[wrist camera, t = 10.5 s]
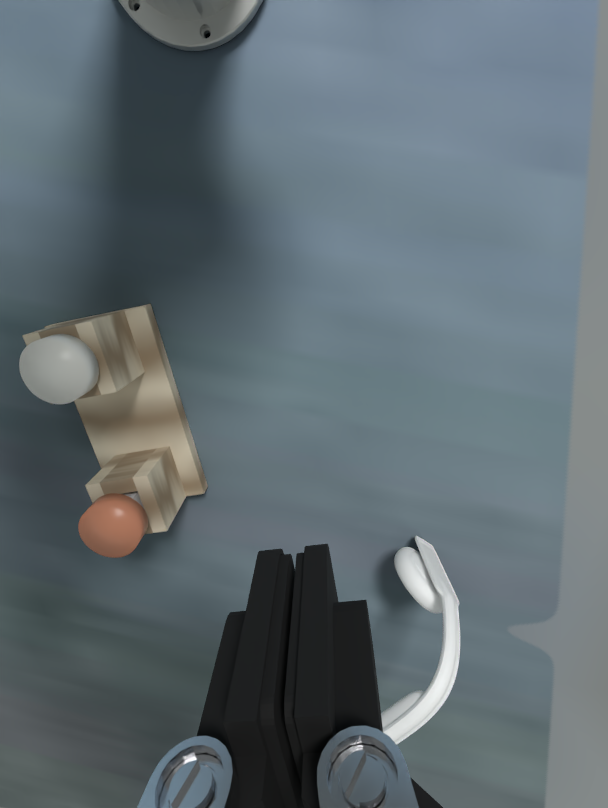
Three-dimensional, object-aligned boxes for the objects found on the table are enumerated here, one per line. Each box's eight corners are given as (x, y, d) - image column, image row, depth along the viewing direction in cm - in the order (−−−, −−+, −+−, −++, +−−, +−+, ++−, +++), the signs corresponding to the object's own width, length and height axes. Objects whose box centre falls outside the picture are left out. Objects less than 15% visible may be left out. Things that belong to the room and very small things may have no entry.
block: (53, 323, 43) (-1, 340, 36) (150, 303, 42) (114, 316, 34) (122, 499, 49) (88, 542, 42) (207, 486, 48) (187, 527, 41)
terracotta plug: (112, 465, 44) (69, 511, 37) (161, 457, 44) (127, 502, 36) (129, 509, 46) (91, 561, 38) (176, 501, 45) (147, 553, 38)
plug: (66, 326, 41) (7, 346, 33) (119, 316, 40) (71, 333, 33) (87, 379, 42) (35, 409, 35) (137, 370, 42) (96, 398, 34)
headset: (408, 514, 48) (452, 659, 32) (452, 552, 50) (516, 709, 33) (288, 614, 54) (270, 781, 37) (329, 645, 55) (331, 819, 39)
